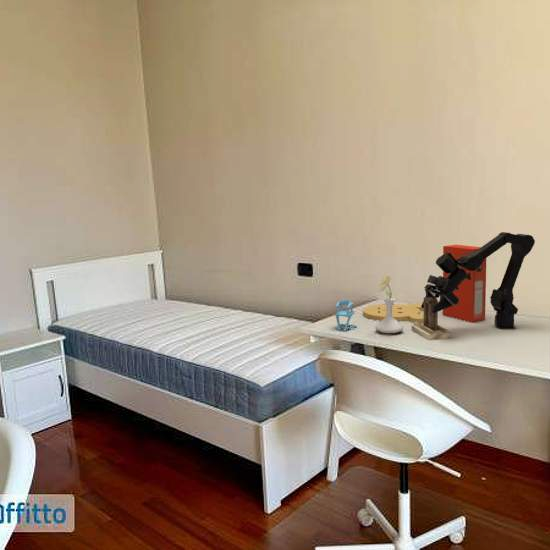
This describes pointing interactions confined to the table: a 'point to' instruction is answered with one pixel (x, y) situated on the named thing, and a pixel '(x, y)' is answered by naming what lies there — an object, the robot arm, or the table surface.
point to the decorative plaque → (396, 312)
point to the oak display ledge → (430, 332)
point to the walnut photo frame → (430, 314)
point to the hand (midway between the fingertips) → (427, 310)
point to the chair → (344, 314)
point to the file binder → (468, 289)
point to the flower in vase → (388, 311)
